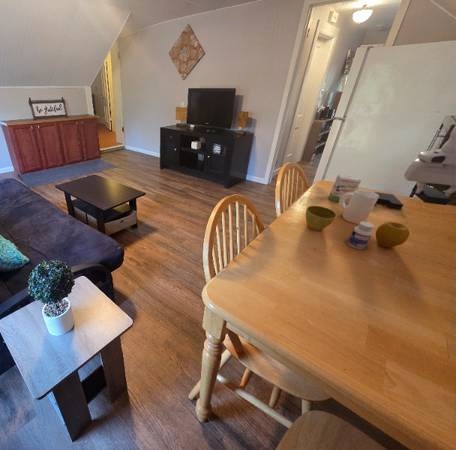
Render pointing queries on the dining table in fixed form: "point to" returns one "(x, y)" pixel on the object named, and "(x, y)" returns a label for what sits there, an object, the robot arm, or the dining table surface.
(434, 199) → the small pad
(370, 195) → the mug
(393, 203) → the big pad
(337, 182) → the ink box
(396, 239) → the apple
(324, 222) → the flower pot
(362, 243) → the pill bottle
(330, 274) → the dining table surface
